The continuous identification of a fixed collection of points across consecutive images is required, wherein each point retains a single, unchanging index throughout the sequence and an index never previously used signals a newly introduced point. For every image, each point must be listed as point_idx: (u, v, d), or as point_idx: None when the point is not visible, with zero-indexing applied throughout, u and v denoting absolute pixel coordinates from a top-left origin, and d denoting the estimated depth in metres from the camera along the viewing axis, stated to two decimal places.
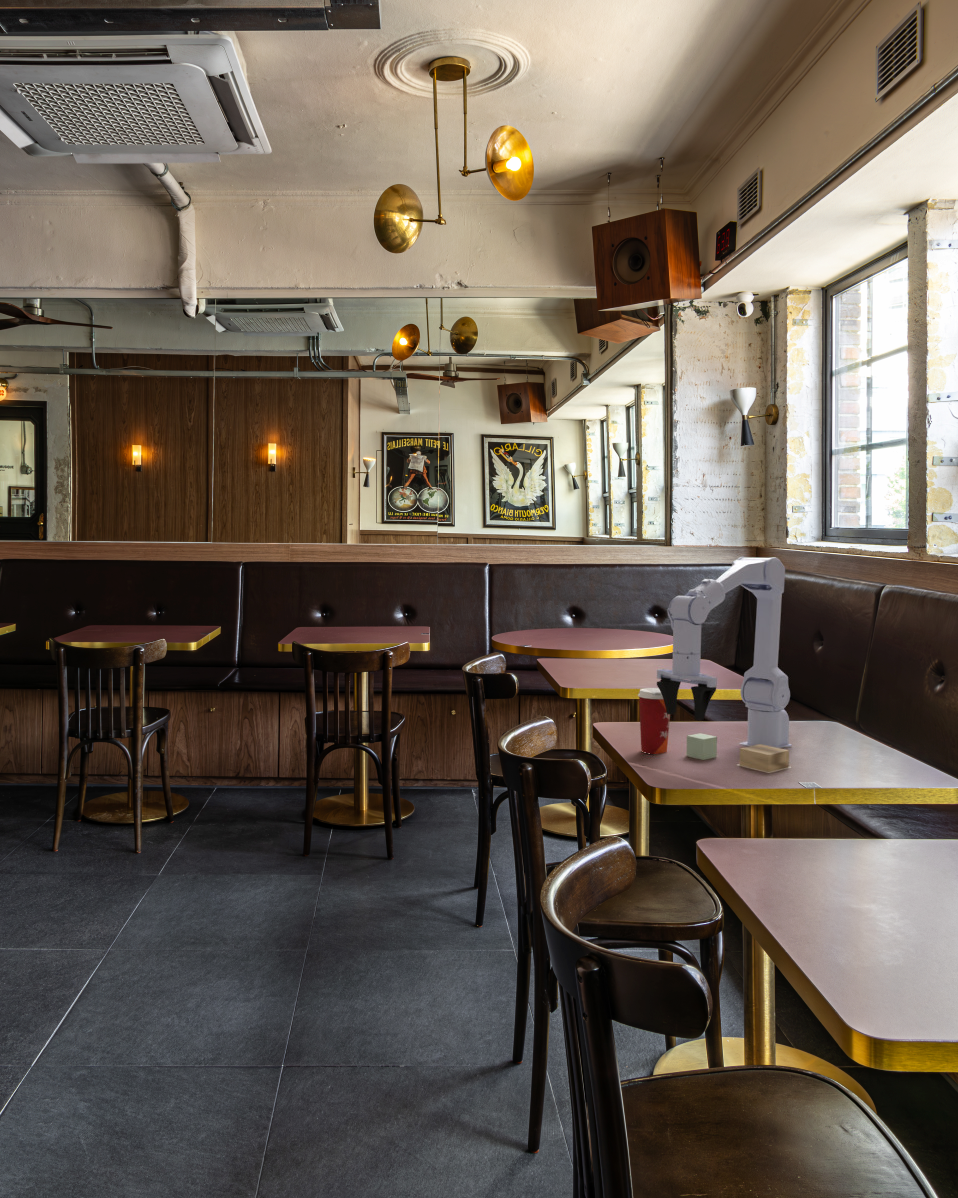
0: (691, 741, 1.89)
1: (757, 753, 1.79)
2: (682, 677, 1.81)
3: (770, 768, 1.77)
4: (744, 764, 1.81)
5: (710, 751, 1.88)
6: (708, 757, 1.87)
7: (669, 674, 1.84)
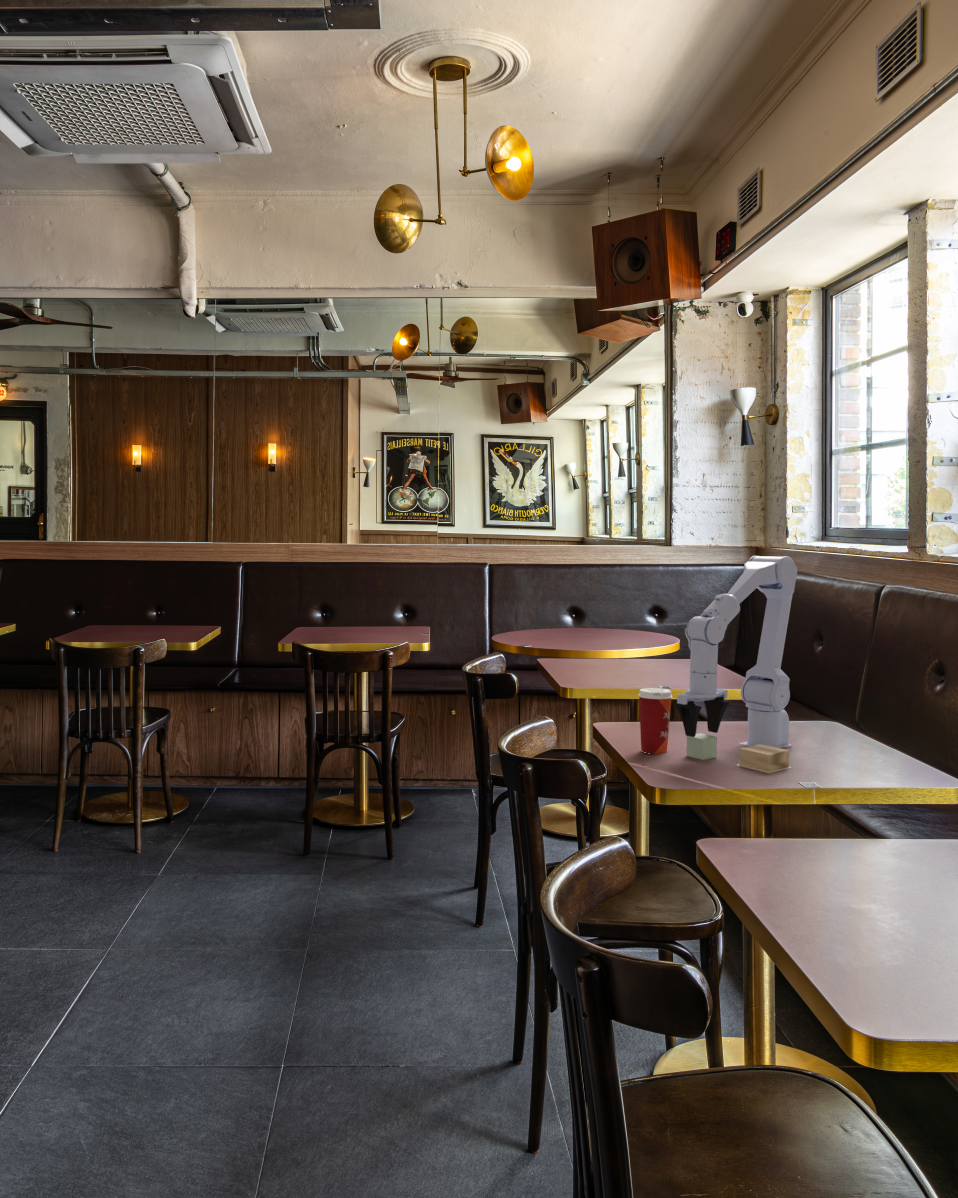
0: (691, 741, 1.89)
1: (757, 753, 1.79)
2: None
3: (770, 768, 1.77)
4: (744, 764, 1.81)
5: (710, 751, 1.88)
6: (708, 757, 1.87)
7: None
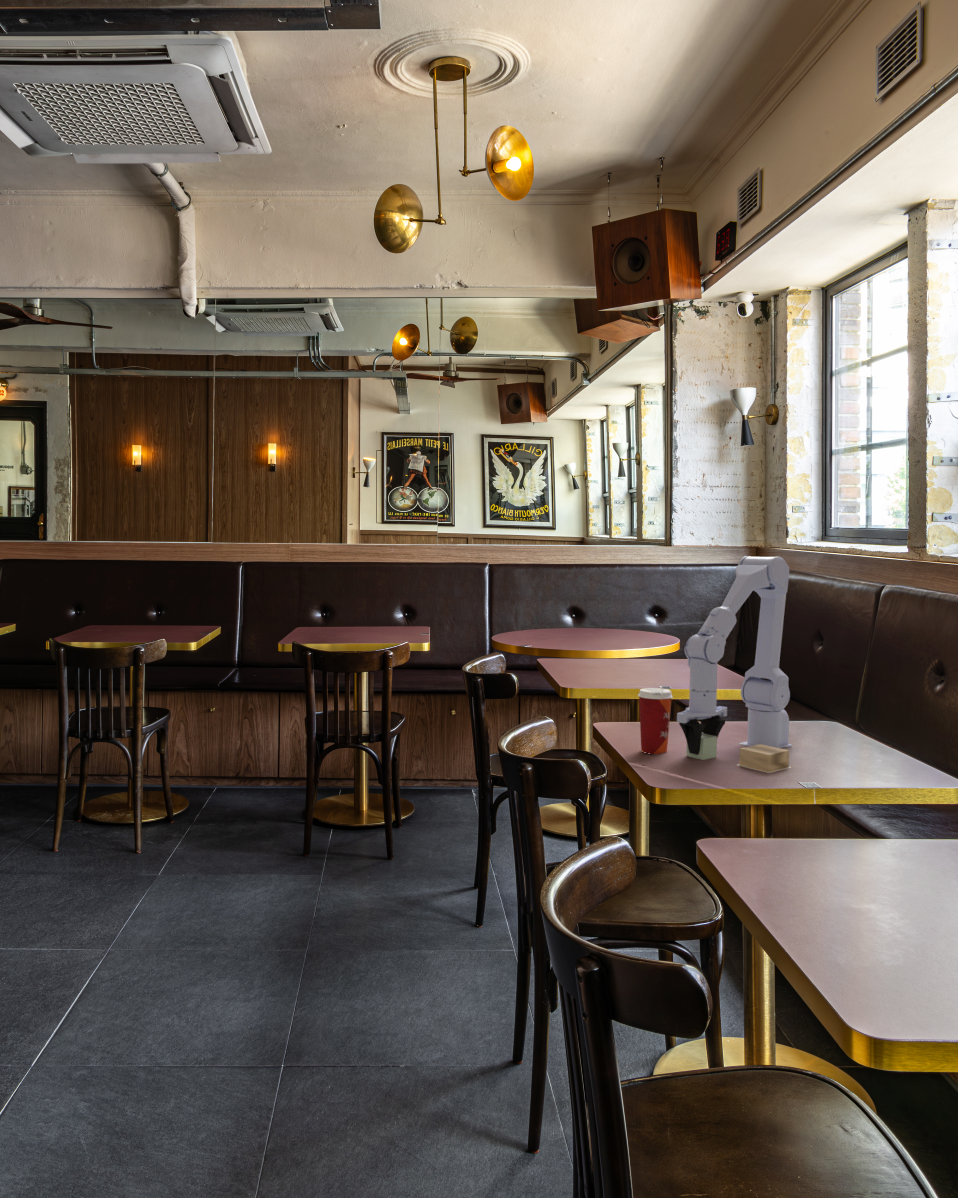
0: None
1: (757, 753, 1.79)
2: None
3: (770, 768, 1.77)
4: (744, 764, 1.81)
5: (710, 751, 1.88)
6: (708, 757, 1.87)
7: None
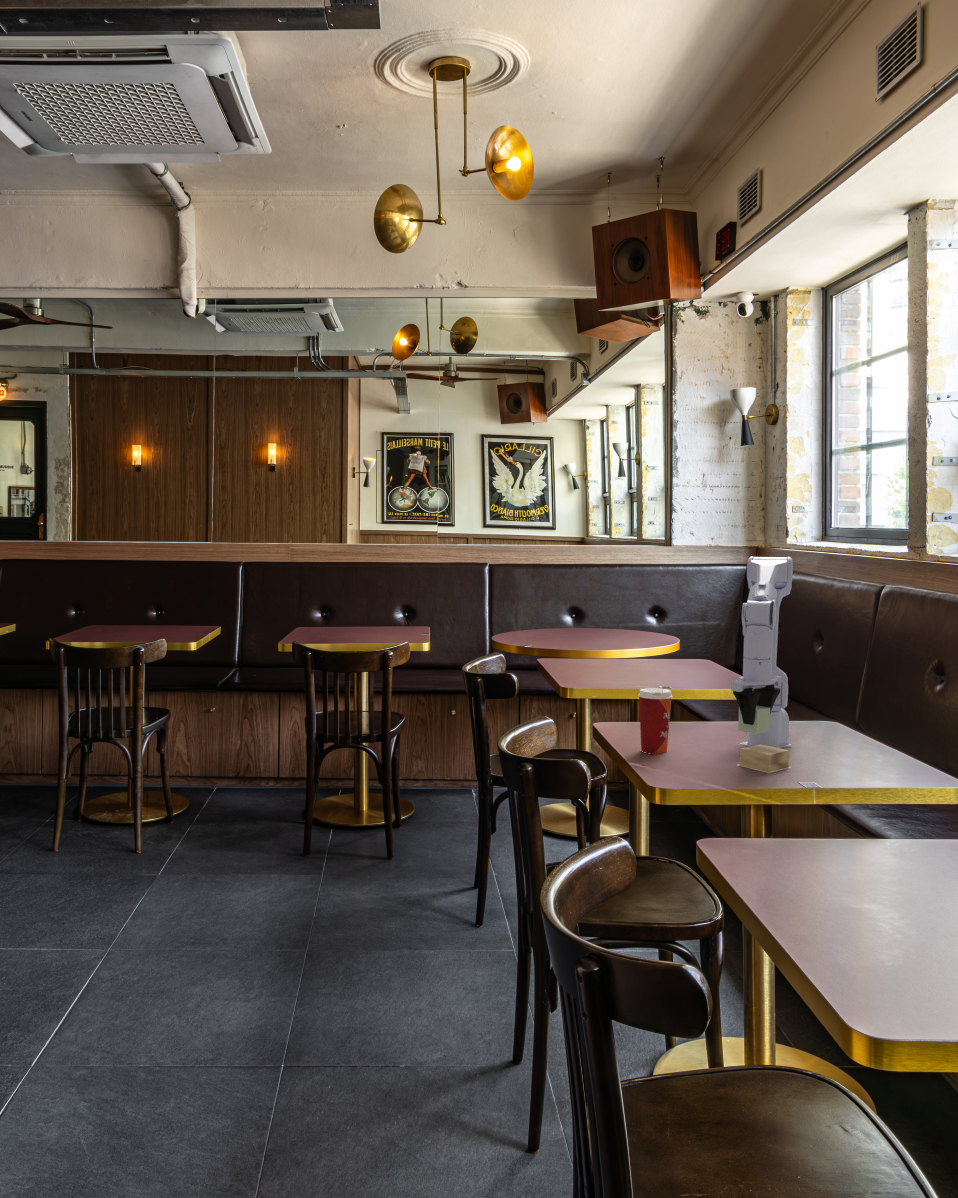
0: None
1: (757, 753, 1.79)
2: None
3: (770, 768, 1.77)
4: (744, 764, 1.81)
5: (763, 723, 1.81)
6: (761, 729, 1.80)
7: None
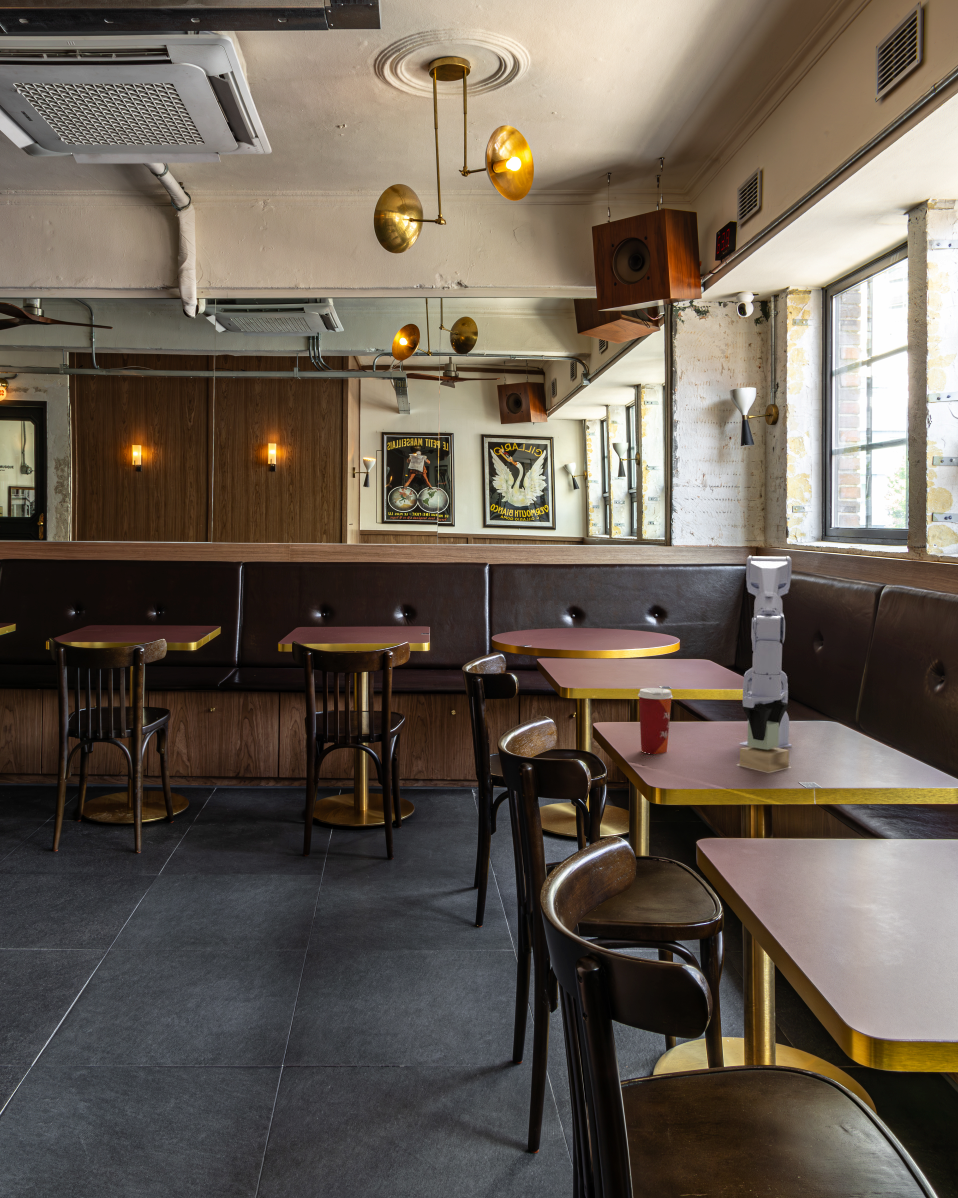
0: None
1: (757, 753, 1.79)
2: None
3: (770, 768, 1.77)
4: (744, 764, 1.81)
5: (773, 738, 1.80)
6: (771, 744, 1.80)
7: None
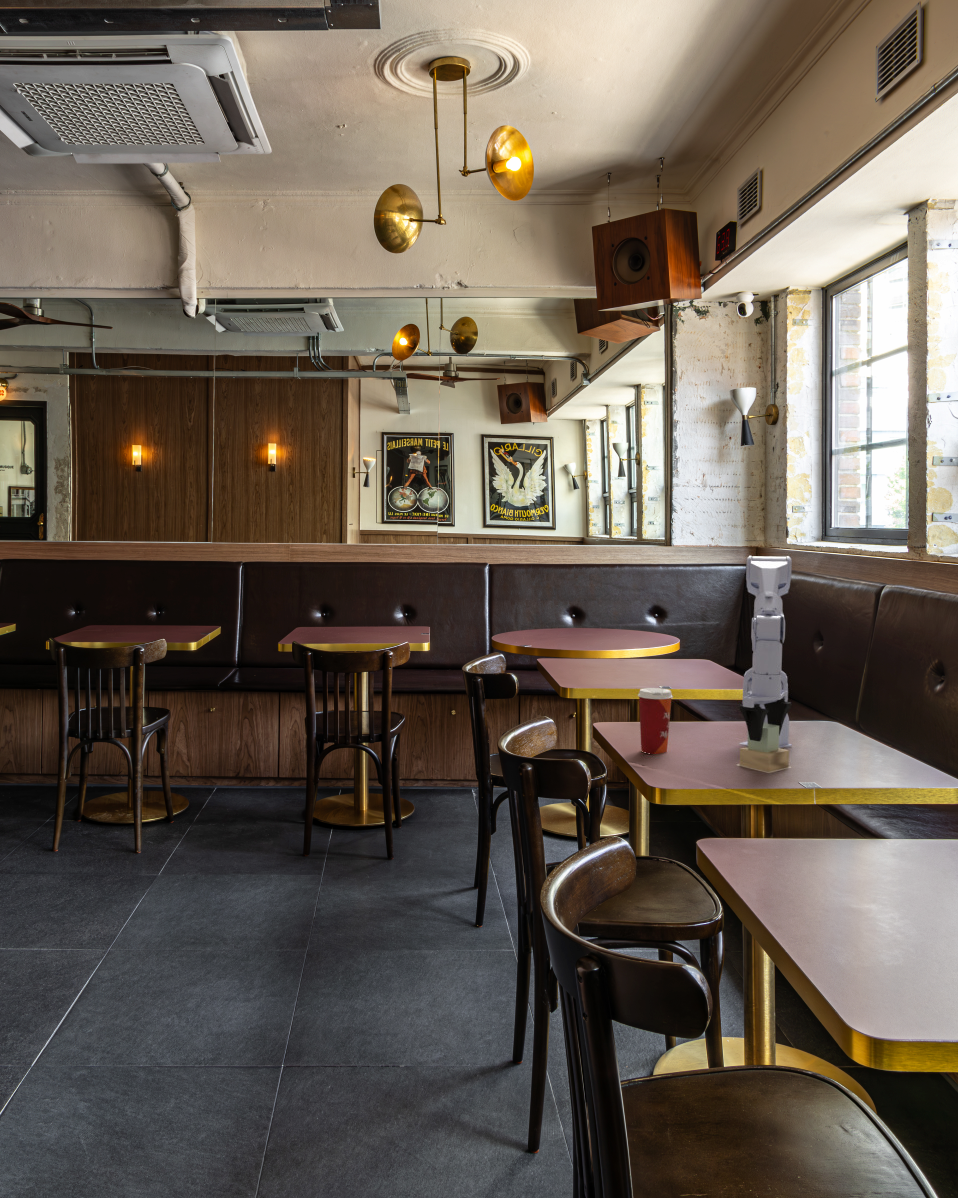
0: None
1: (757, 753, 1.79)
2: None
3: (770, 768, 1.77)
4: (744, 764, 1.81)
5: (773, 741, 1.80)
6: (771, 747, 1.80)
7: None
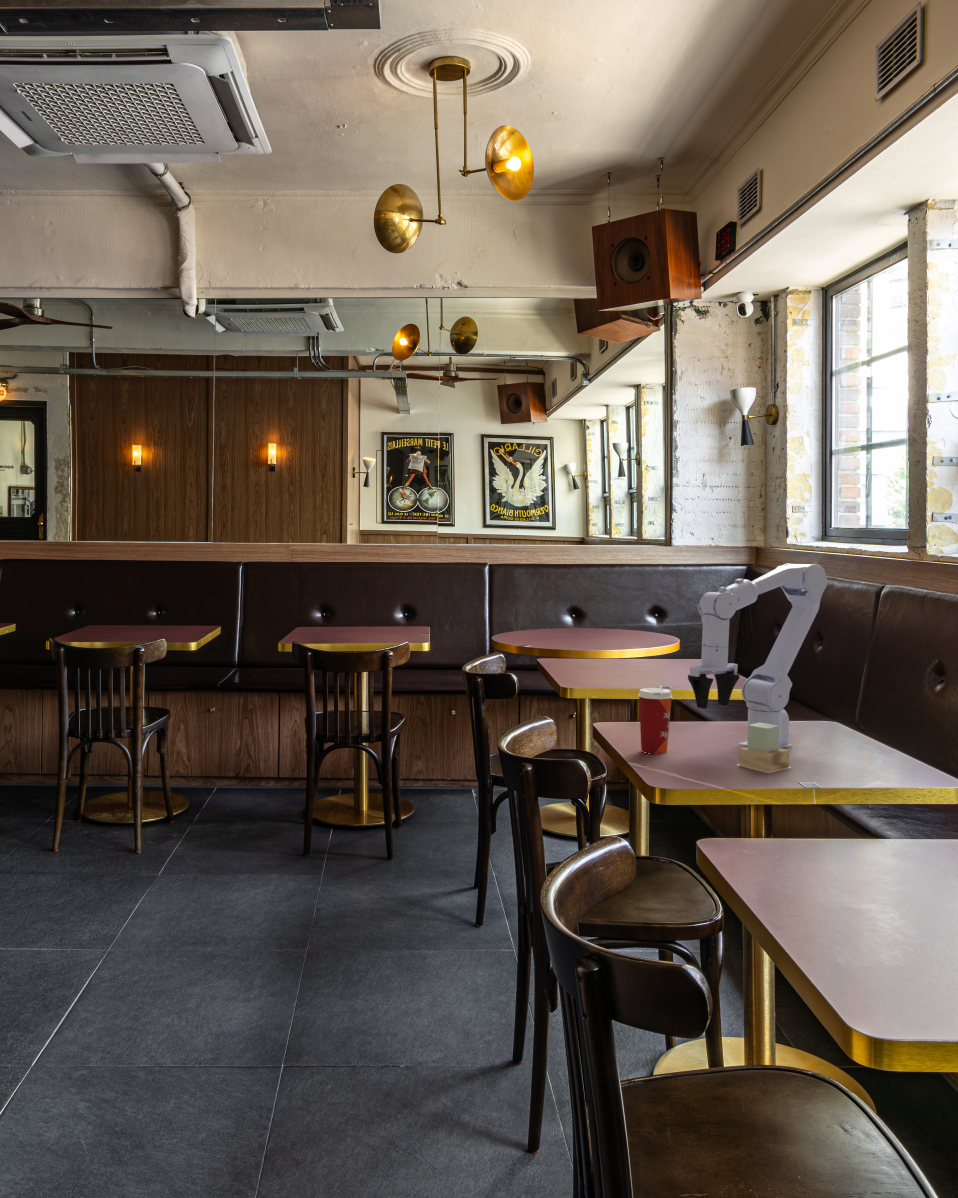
0: (753, 731, 1.81)
1: (757, 753, 1.79)
2: None
3: (770, 768, 1.77)
4: (744, 764, 1.81)
5: (773, 741, 1.80)
6: (771, 747, 1.80)
7: None
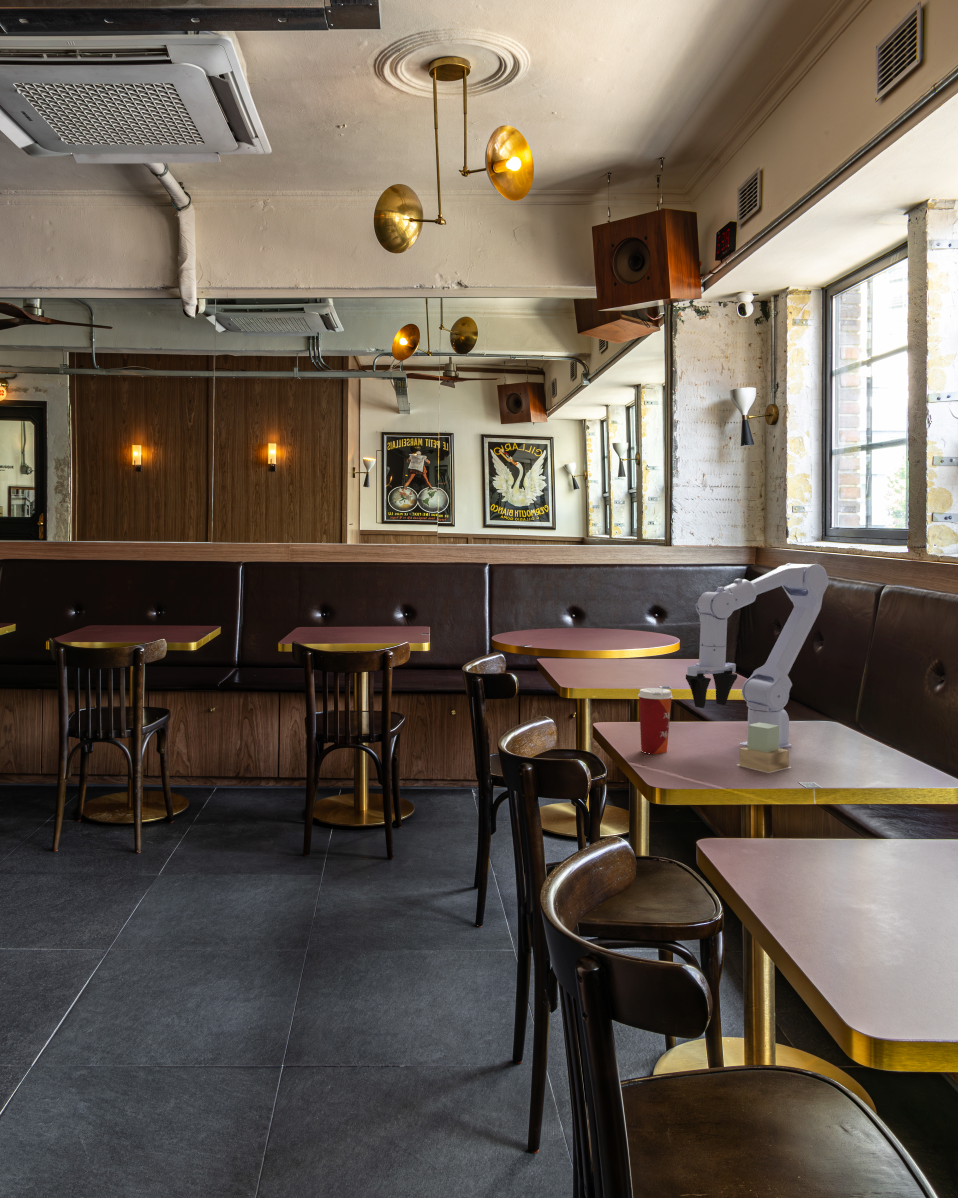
0: (753, 731, 1.81)
1: (757, 753, 1.79)
2: None
3: (770, 768, 1.77)
4: (744, 764, 1.81)
5: (773, 741, 1.80)
6: (771, 747, 1.80)
7: None
